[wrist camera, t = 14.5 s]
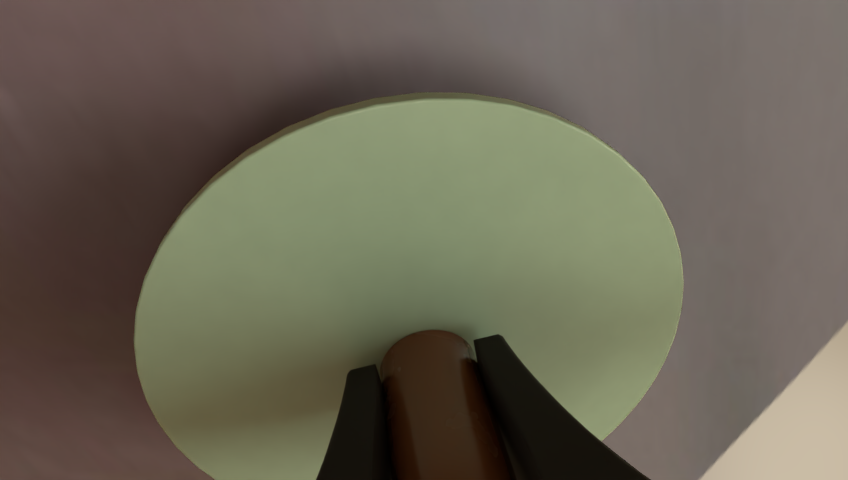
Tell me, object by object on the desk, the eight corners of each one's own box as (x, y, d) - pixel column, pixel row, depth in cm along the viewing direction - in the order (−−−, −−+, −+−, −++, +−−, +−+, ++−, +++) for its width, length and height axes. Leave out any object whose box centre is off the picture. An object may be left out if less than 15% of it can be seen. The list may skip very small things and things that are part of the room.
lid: (182, 506, 16) (125, 731, 12) (94, 54, 9) (-122, 177, 5) (584, 476, 19) (665, 652, 14) (743, 106, 12) (993, 217, 7)
